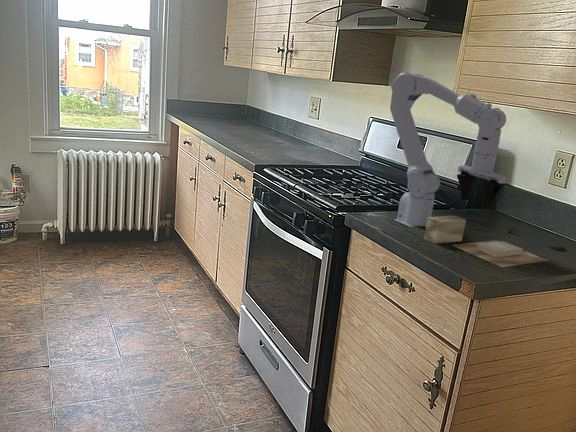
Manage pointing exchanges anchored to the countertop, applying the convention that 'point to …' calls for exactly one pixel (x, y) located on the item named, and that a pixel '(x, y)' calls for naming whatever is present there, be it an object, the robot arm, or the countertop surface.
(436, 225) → the tan mottled block
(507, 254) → the tile
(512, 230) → the bracket
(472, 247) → the cork mat
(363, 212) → the countertop surface
